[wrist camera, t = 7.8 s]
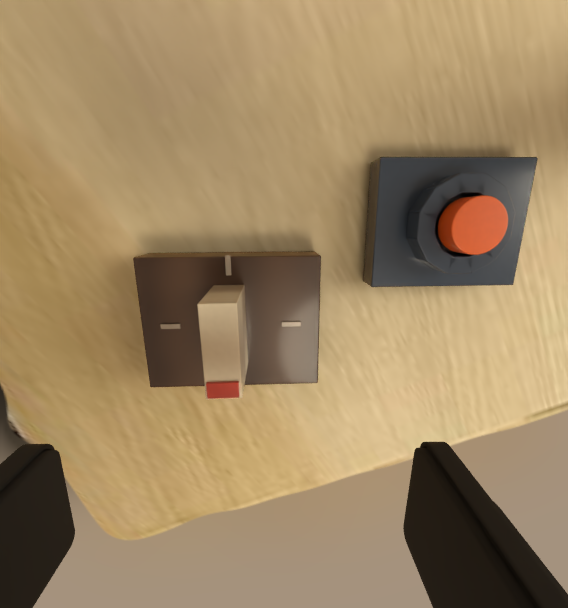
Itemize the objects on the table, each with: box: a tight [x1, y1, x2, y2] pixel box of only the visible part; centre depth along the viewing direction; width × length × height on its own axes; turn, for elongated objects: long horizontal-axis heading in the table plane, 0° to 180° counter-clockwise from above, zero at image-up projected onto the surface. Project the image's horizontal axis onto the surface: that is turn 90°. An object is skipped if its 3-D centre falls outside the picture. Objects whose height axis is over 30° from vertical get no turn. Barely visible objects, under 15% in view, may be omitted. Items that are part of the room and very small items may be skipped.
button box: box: [363, 157, 537, 287], centre depth 22 cm, size 11×9×4 cm
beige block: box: [197, 285, 248, 399], centre depth 20 cm, size 6×2×5 cm, turn 1°
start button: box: [438, 195, 508, 255], centre depth 20 cm, size 4×4×2 cm
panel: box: [133, 251, 321, 387], centre depth 24 cm, size 13×10×3 cm
